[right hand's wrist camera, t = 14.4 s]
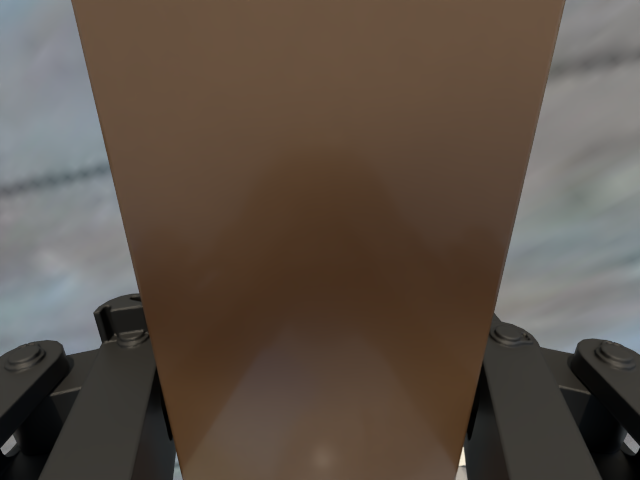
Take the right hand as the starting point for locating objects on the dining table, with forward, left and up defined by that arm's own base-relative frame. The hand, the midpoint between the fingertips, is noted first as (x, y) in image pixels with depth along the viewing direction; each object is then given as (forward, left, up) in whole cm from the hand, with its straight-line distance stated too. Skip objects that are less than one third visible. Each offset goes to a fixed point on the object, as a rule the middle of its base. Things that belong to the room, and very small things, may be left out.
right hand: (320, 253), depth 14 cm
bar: (+7, -6, -1) cm, 9 cm away
